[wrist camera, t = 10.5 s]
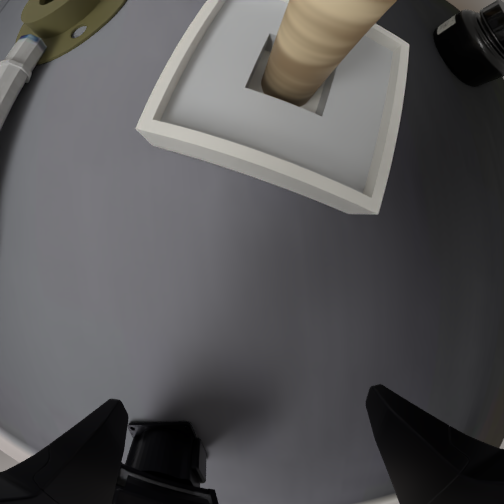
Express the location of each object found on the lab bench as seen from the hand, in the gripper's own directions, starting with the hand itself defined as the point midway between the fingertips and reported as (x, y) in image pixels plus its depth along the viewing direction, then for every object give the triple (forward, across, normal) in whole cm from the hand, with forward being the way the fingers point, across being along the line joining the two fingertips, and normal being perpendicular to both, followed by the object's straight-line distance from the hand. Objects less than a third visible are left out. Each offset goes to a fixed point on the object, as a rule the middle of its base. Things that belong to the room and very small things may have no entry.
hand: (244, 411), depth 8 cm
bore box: (+15, -4, -14) cm, 21 cm away
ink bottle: (+18, -28, -24) cm, 41 cm away
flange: (+16, +17, -29) cm, 37 cm away
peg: (+14, -4, -14) cm, 21 cm away
